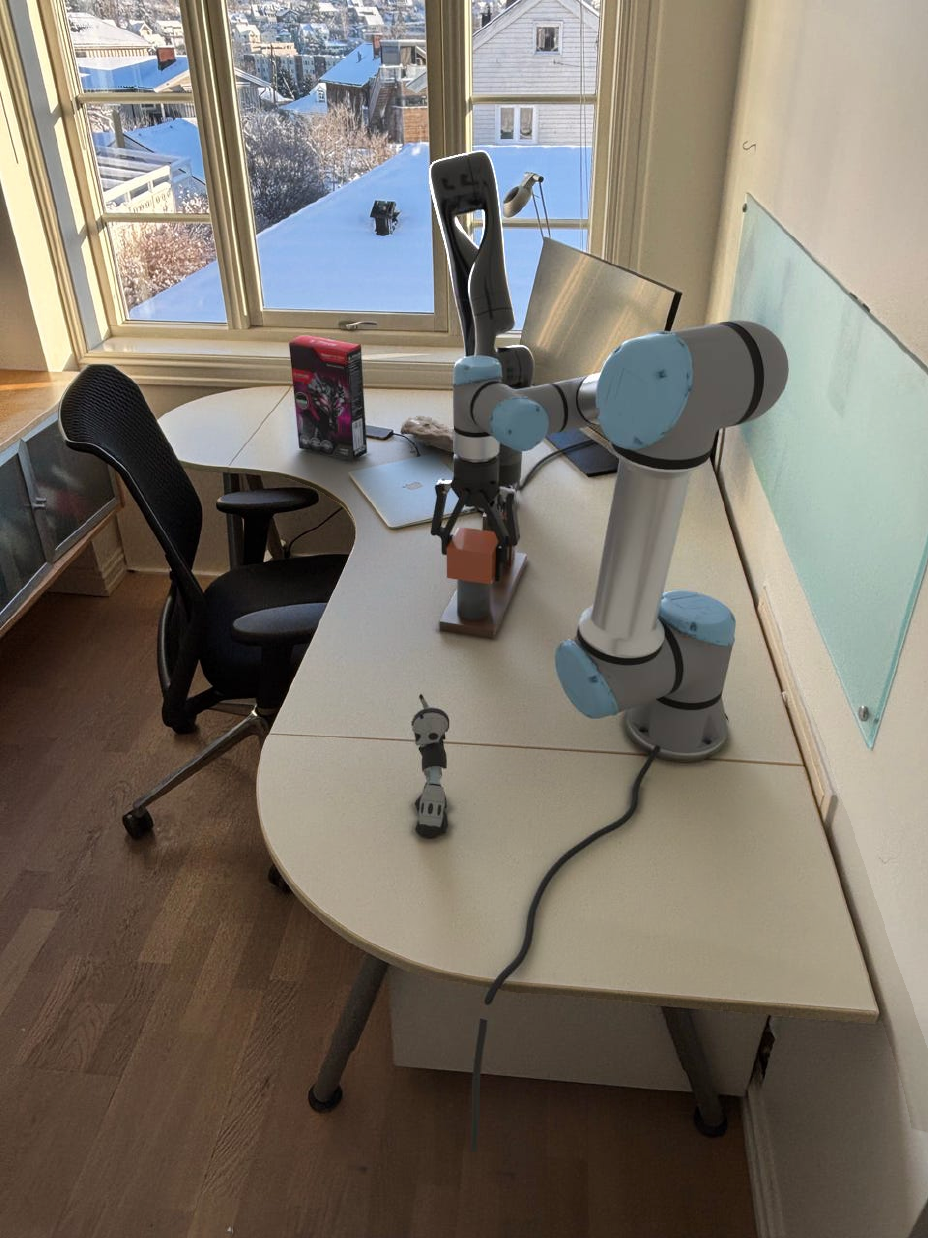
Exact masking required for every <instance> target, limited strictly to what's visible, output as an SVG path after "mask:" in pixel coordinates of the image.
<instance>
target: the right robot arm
mask: <svg viewBox="0 0 928 1238" xmlns="http://www.w3.org/2000/svg"><path fill="white" fill-rule="evenodd" d="M789 369H790V368H789V359H788V354H787V351H786V349H785V347H784V345H783V343H782V342H781V340H780V339H779V337H778V336H777V335H776V334H775V333H774V332H773V331H772V330H770V329H769V328H767V327H766V326H764V325H761V324H759V323H757V322H753V321H750V320H749V321H748V320H728V321H726V320H725V321H721V322H717V323H711V324H706V325H700V326H699V325H698V326H694V327H687V328H682V329H681V328H680V329H675V330H670V331H668V330H658V331H652V332H649V333H646V334H644V335H642V336H638V337H634V338H630V339H627V340H626V341H623V342H622V343H621V344H620V345H618V346H617V347H615V348H614V349H613V350H612V352H611V353H610V354H609V355H608V357H607V358H606V360H605V361H604V363H603V365H602V368H601V370H600V372H597V373H595V374H589V375H585V376H582V377H581V376H580V377H576V378H571V379H566V380H561V381H556V382H551V383H544V384H539V385H533V386H531V387H528V388H522V389H512V388H511V387H509V386H507V385H505V384H504V383H503V382H501V381H502V377H503V375H502V369H501V364H500V362H499V361H498V360H497V359H495V358H492V357H488V356H468V357H465V356H464V357H461V358H460V359H458V360H457V361H456V362H455V364H454V366H453V379H452V381H453V382H452V383H451V386H452V408H453V409H452V411H453V412H452V415H453V416H452V418H453V420H452V421H453V422H452V423H453V427H452V428H453V452H452V453H454V454H453V455H452V456H453V457H452V458H453V459H452V460H453V461H452V462H453V463H452V464H453V467H452V468H453V470H452V473H453V475H452V476H453V477H452V479H451V480H446V479H444V478H439V480H438V481H437V483H436V484H435V485H434V491H435V496H436V499H435V503H434V504H435V505H434V510H433V515H432V522H431V527H430V534H431V536H433V537H435V536H437V537H439V538H440V544H441V545H440V546H441V555H442V556H447V547H448V545H449V543H450V542H451V540H452V538H453V537H454V535H455V534H451V533H452V532H453V529H454V527H455V525H456V523H457V521H458V519H459V517H460V516H461V513H462V511H463V509H464V507H467V508H475V507H477V508H481V509H483V510H484V512H485V514H486V515H487V516H488V518H489V521H490V523H491V526H492V528H493V530H494V533H495V535H496V537H497V540H498V542H499V543H498V545H497V547H496V561H495V581H499V580H500V578H501V576H502V574H503V563H506V562H507V560H508V558H509V546H515V547H517V546H518V545H519V541H520V539H521V532H520V525H519V524H520V523H519V519H518V517H519V516H518V509H517V502H516V503H515V498H516V499H517V494H518V491H517V489H516V488H515V487H512V488H511V489H508V488H505V487H501V484H500V482H499V455H498V453H499V446H500V443H501V444H503V445H505V446H508V447H510V448H512V449H513V450H516V451H522V452H528V451H531V450H533V449H534V448H535V447H536V446H538V445H539V444H541V443H542V442H543V441H544V439H545V438H546V436H549V435H554V434H559V433H562V432H569V431H573V430H579V429H584V428H590V427H597V426H600V428H601V430H602V432H603V433H604V434H605V435H606V437H605V438H607V439H608V440H609V446H610V449H611V450H612V451H613V453H614V454H615V455H616V456H617V457H618V458H619V459H618V460H619V461H618V466H617V471H616V476H615V484H614V487H613V494H612V499H611V505H610V510H609V516H608V520H607V526H606V532H605V538H604V543H603V549H602V555H601V559H600V564H599V565H600V566H599V570H598V576H597V581H596V587H595V592H594V598H593V604H592V605H590V606H589V607H587V608H586V609H585V610H584V611H583V612H582V613H581V614H580V616H579V619H578V624H577V629H576V635H575V637H573V638H572V639H570V638H568V639H565V640H564V641H563V642H560V643H559V644H558V646H557V647H556V649H555V654H554V663H555V670H556V674H557V677H558V680H559V682H560V685H561V688H562V689H563V692H564V693H565V695H566V697H567V699H568V700H569V702H570V703H571V705H572V706H573V707H574V708H575V709H576V710H577V711H578V713H581V714H582V715H583V716H585V717H587V718H589V719H594V720H598V719H603V718H606V717H610V716H612V717H613V716H616V715H617V716H618V714H620V713H622V712H626V719H625V728H626V732H627V734H628V736H629V738H630V739H631V741H632V742H634V744H636V745H637V746H638V747H639V748H640V749H641V750H643V751H645V752H646V753H648V754H650V755H649V756H648V758H647V759H646V761H645V762H644V764H643V765H642V767H641V769H640V770H639V772H638V774H637V775H636V778H635V780H634V783H633V786H632V794H631V803H630V806H629V808H628V809H627V811H626V812H625V813H624V814H623V815H622V816H621V817H619V818H618V819H616V820H615V821H614V822H612V823H610V824H608V825H606V826H603V827H602V828H600V829H598V830H596V831H595V832H593V833H592V834H590V835H589V836H587V837H586V838H585V839H583V840H582V841H580V842H578V843H577V844H576V845H574V846H573V847H572V848H570V849H569V850H567V851H566V852H565V853H564V854H563V855H562V856H561V857H560V858H559V859H557V861H556V862H555V863H554V864H553V865H552V866H551V867H550V868H549V870H548V871H547V872H546V874H545V875H544V877H543V879H542V880H541V882H540V884H539V886H538V888H537V890H536V891H535V894H534V896H533V898H532V901H531V904H530V906H529V909H528V913H527V919H526V925H525V935H524V939H523V942H522V945H521V948H520V950H519V952H518V953H517V955H516V956H515V958H514V959H513V960H512V961H511V962H510V963H509V965H507V966H506V967H505V968H504V969H503V970H502V971H501V972H500V973H499V975H497V976H496V978H495V979H494V981H493V982H492V984H491V986H490V987H489V989H488V991H487V994H486V996H485V997H484V1000H483V1002H484V1004H485V1005H486V1006H489V1005H491V1004H492V1003H493V1000H494V999H495V997H496V995H497V993H498V990H499V989H500V988H501V986H502V985H503V983H505V981H506V980H507V979H508V978H509V977H510V976H511V975H512V974H513V973H514V972H515V971H516V970H517V969H518V968H519V967H520V966H521V965H522V963H523V961H524V960H525V958H526V956H527V954H528V952H529V950H530V948H531V944H532V941H533V935H534V926H535V919H536V913H537V909H538V908H539V904H540V902H541V899H542V898H543V896H544V892H545V890H546V889H547V887H548V885H549V883H550V882H551V881H552V879H553V878H554V877H555V875H556V874H557V872H558V871H559V870H560V869H561V868H562V867H563V866H564V865H565V864H566V863H567V862H568V861H569V860H570V859H571V858H572V857H574V856H575V855H576V854H578V853H579V852H581V851H582V850H584V849H585V848H587V847H588V846H589V845H591V844H592V843H594V842H595V841H597V840H598V839H600V838H601V837H603V836H605V835H607V834H609V833H611V832H613V831H615V830H617V829H618V828H620V827H622V826H624V825H625V824H626V823H627V822H628V821H630V819H631V818H632V816H633V815H635V814H634V813H635V811H637V808H638V803H639V796H640V795H639V793H640V787H641V785H642V781H643V780H644V777H645V775H646V774H647V772H648V770H649V769H650V767H651V766H652V764H653V762H654V760H655V759H656V758H659V759H662V760H666V761H670V762H675V763H694V762H700V761H703V760H706V759H709V758H711V757H714V755H716V754H718V752H720V751H721V750H722V748H723V747H724V744H725V743H726V740H727V739H726V738H727V734H728V724H730V721H729V717H728V715H727V713H726V712H725V708H724V707H725V706H724V701H723V692H724V687H725V682H726V678H727V674H728V669H729V664H730V661H731V655H732V652H733V647H734V644H735V642H736V637H735V632H736V627H737V626H736V625H737V624H736V617H735V615H734V614H733V612H732V610H731V609H730V608H729V607H728V606H727V605H726V604H724V603H723V602H722V601H720V600H719V599H717V598H715V597H712V596H710V595H707V594H705V593H702V592H698V591H693V590H686V589H685V590H684V589H674V590H669V591H665V587H666V583H667V579H668V576H669V571H670V567H671V564H672V563H671V562H672V558H673V554H674V551H675V550H674V549H675V546H676V542H677V538H678V534H679V529H680V525H681V520H682V518H683V517H682V516H683V513H684V508H685V504H686V500H687V496H688V491H689V487H690V483H691V479H692V475H693V472H694V471H696V470H698V469H700V468H702V467H704V466H705V465H706V464H707V463H708V462H709V460H710V457H711V453H712V449H713V446H714V442H715V439H716V438H715V437H716V435H717V432H718V430H722V429H727V428H731V427H735V426H739V425H742V424H746V423H748V422H751V421H753V420H756V419H758V418H760V417H761V416H763V415H764V414H766V413H767V412H768V411H770V410H771V409H772V408H774V406H775V404H776V403H777V402H778V401H779V399H780V398H781V396H782V395H783V393H784V391H785V388H786V386H787V383H788V378H789V371H790V370H789ZM451 490H452V491H453V493H454V494H455V496H456V497H457V499H458V500H457V502H456V504H455V506H454V508H453V510H452V511H451V515H450V516H449V518H448V520H447V522H446V524H445V526H444V527H443V526H442V525H443V519H444V513H445V507H446V502H447V498H448V494H449V493H450V491H451ZM498 494H500V495H501V496H502V500H503V501H504V502H505V511H506V517H507V524H508V530H509V535H508V532H507V530H506V528H505V525H504V523H503V521H502V518H501V516H500V513H499V511H498V509H497V504H496V501H495V498H496V496H497V495H498ZM484 512H483V513H484ZM664 591H665V592H664ZM487 1027H488V1020H487V1019H484V1018H479V1024H478V1031H477V1039H476V1044H475V1053H474V1059H473V1071H472V1084H471V1085H472V1086H471V1140H470V1150H472V1151H473V1152H476V1151H478V1149H479V1131H480V1130H479V1129H480V1089H481V1088H480V1087H481V1086H480V1085H481V1073H482V1072H481V1071H482V1062H483V1057H484V1055H483V1054H484V1047H485V1042H486V1037H487V1036H486V1035H487Z"/></svg>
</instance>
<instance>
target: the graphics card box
mask: <svg viewBox="0 0 928 1238" xmlns="http://www.w3.org/2000/svg"><path fill="white" fill-rule="evenodd" d="M288 348H289V349H288V350H289V358H290V367H291V377H292V389H293V399H294V409H295V418H296V419H295V420H296V428H297V429H296V431H297V437H298V438H297V441H298V448H299V449H301V450H305V451H309V452H313V453H318V454H323V455H327V456H331V457H335V458H339V459H344V460H347V461H351V462H354V461H356V460H358V459H359V458H360V457H362V456H364V455H365V454H367V453H368V445H367V444H368V443H367V426H366V410H365V393H364V377H363V376H364V375H363V356H362V345H361V343H360V344H359V343H351V342H346V341H341V340H335V339H334V340H333V339H329V338H325V337H324V338H323V337H318V336H313V335H308V334H301V335H299V336H297V337H295V338H293V339H292V340H291V341H289V342H288Z"/></svg>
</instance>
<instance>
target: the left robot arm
mask: <svg viewBox="0 0 928 1238" xmlns="http://www.w3.org/2000/svg"><path fill="white" fill-rule="evenodd" d="M494 169H495V167H494V164H493V162H492V159H491V158H490V155H489V153H487V152H486V151H485V150H475V151H471V152H467V153H462V154H458V155H457V154H456V155H454V156H449V157H445V158H442V159H441V158H440V159H438V160H436V161H433V162H432V164H431V165H430V168H429V176H428V177H429V184H430V190H431V196H432V201H433V203H434V208H435V211H436V215H437V220H438V224H439V226H440V230H441V235H442V238H443V241H444V246H445V250H446V256H447V261H448V268H449V274H450V279H451V286H452V292H453V296H454V297H453V298H454V301H455V307H456V310H457V315H458V318H459V324H460V328H461V333H462V339H463V347H464V348H463V349H464V357H468V356H488V357H492V358H495V359H497V360H498V361H499V362H500V364H501V369H502V375H503V377H502V381H501V382H503V383H504V384H505V385H507V386H509V387H511V388H512V389H522V388H528V387H532V385H533V380H534V377H535V371H536V365H535V359H534V355H533V353H532V351H531V350H530V349H529V348H528V347H527V346H526V345H522V344H516V345H509V346H501V347H496V340H497V337H499V336H502V335H505V334H507V333H508V332H511V331H512V330H513V329H514V327H515V325H516V317H515V313H514V307H513V302H512V297H511V292H510V287H509V283H508V276H507V269H506V268H507V267H506V259H505V246H504V235H503V224H502V216H501V215H502V214H501V206H500V198H499V189H498V183H497V178H496V172H495V170H494ZM476 212H482V220H483V221H482V222H483V223H482V224H483V227H482V235H481V239H480V242H479V246H478V245H476V243H475V242H474V241H473V239H471V238H470V237H469V236H468V234H467V233H466V231H465V230H464V229H463V227H462V225H461V224H460V222H459V219H458V218H457V217H459V216H465V215H469V214H472V213H476ZM591 442H592V443H593V442H594V441H593V440H592V439H591V438H589V439H585V440H582V441H579V442H576V443H573V444H570V445H567V446H564V447H562V448H559V449H557V450H555V451H553V452H551V453H549V454H547V455H546V456H544V457H542V458H541V459H540V460H539V461H538V462H536V463H535V464H534V465H533V466H532V467H531V469H530V470H529V471H528V473H527V474H526V475H525V477H524V478H523V481H522V483H521V478H522V465H523V464H522V461H523V451H516V450H513V449H512V448H510V447H508V446H505V445H503V444H501V443H500V446H499V453H498V455H499V482H500V484H501V487H505V488H508V489H511V488H512V487H515V488H516V489H517V492H518V491H519V490H521V489H523V488H524V487H525V486H526V484H527V482H528V480H529V479H530V477H531V476H532V474H533V473H534V472H535V471H536V469H537V468H538V467H539V466H541V464H543V463H544V462H545V461H547V460H548V459H550V458H552V457H554V456H556V455H558V454H560V453H563V452H565V451H569V450H571V449H574V448H576V447H579V446H583V445H585V444H588V443H591ZM495 501H496V504H497V509H498V511H499V513H500V516H501V518H502V521H503V523H504V515H505V514H506V511H505V502H504V501H503V500H502V496H501V495H500V494H498V495H497V496H496V498H495ZM515 503H516V504H517V497H516V498H515ZM474 508H475V509H476V510H477V511H479V512H482V513H483V514H484V513H485V512H484V510H483V509H481V508H477V507H474ZM486 516H487V515H486ZM487 524H488V526H489V527H491V531H493V532H494V530H493V528H492V526H491V523H490V521H489V518H488V516H487Z"/></svg>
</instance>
